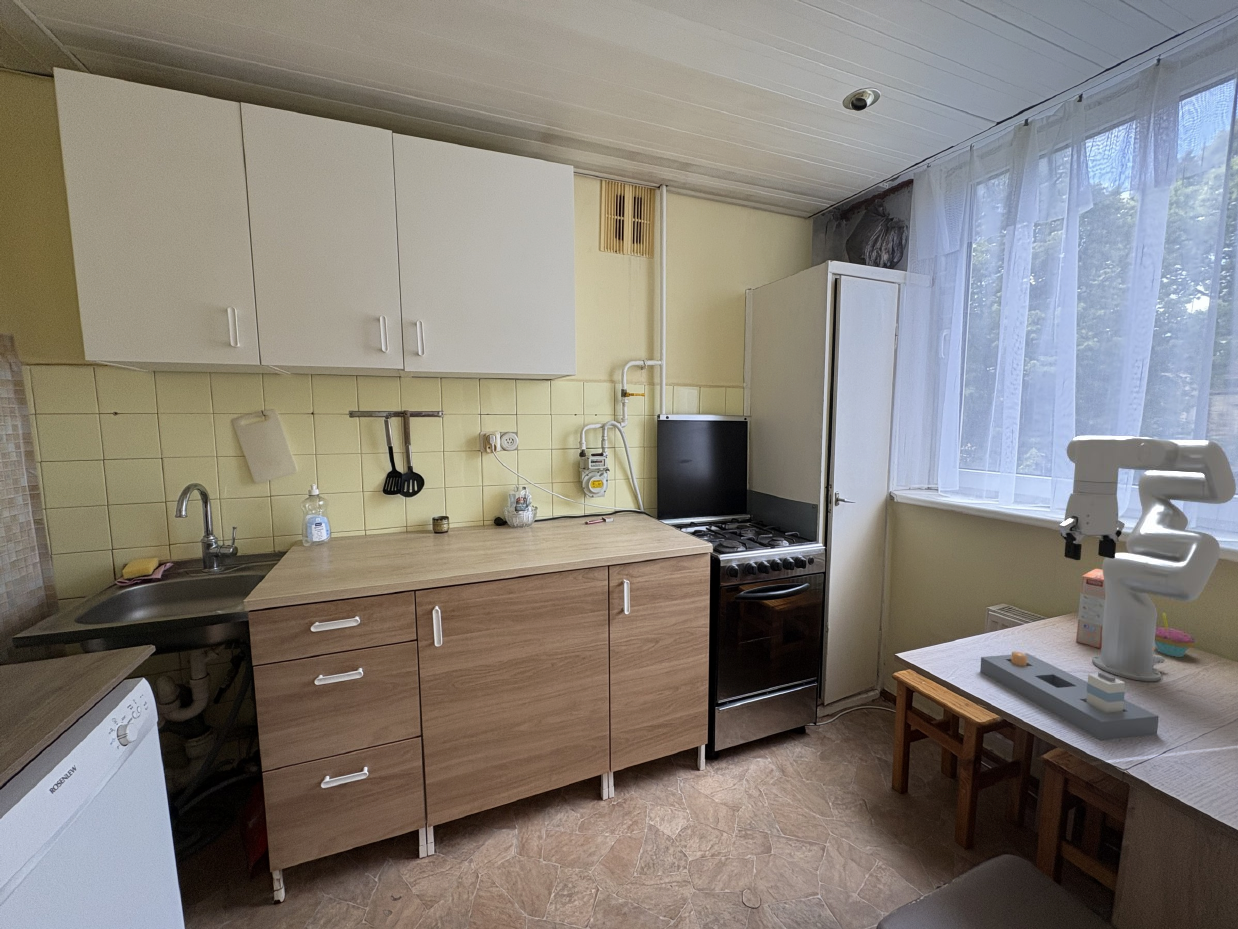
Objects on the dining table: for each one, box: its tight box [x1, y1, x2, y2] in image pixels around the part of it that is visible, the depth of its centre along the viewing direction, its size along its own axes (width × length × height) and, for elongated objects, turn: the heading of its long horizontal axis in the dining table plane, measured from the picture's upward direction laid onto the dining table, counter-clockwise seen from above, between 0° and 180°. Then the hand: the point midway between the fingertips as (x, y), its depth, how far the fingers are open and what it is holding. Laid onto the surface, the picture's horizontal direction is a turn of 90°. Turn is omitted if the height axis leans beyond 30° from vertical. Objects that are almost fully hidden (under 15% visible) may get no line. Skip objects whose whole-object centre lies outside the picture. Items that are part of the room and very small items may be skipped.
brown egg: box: [1011, 651, 1027, 667], centre depth 122 cm, size 3×3×6 cm
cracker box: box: [1075, 568, 1105, 650], centre depth 144 cm, size 14×6×21 cm, turn 123°
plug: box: [1086, 671, 1126, 713], centre depth 104 cm, size 4×4×11 cm
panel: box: [979, 652, 1160, 741], centre depth 113 cm, size 14×28×4 cm, turn 8°
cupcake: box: [1154, 610, 1196, 658], centre depth 136 cm, size 9×8×12 cm
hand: (1089, 557), depth 116 cm, fingers open, 9 cm apart
